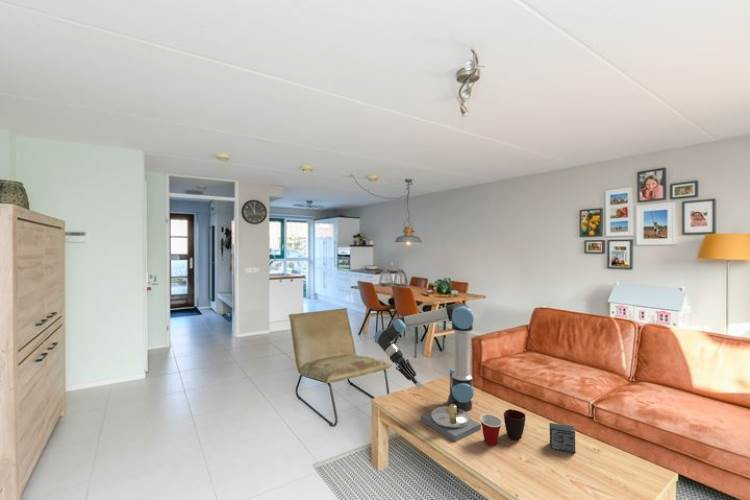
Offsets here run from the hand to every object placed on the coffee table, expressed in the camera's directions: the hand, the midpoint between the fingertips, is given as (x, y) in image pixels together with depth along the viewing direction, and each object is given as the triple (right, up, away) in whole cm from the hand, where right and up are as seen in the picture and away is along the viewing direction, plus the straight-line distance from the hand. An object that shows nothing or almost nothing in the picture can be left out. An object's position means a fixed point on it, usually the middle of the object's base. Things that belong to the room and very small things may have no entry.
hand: (420, 387), depth 195 cm
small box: (+66, -20, -24) cm, 73 cm away
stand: (+16, -20, -2) cm, 26 cm away
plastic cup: (+33, -20, -19) cm, 43 cm away
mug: (+48, -20, -13) cm, 54 cm away
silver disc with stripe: (+16, -17, -2) cm, 23 cm away
